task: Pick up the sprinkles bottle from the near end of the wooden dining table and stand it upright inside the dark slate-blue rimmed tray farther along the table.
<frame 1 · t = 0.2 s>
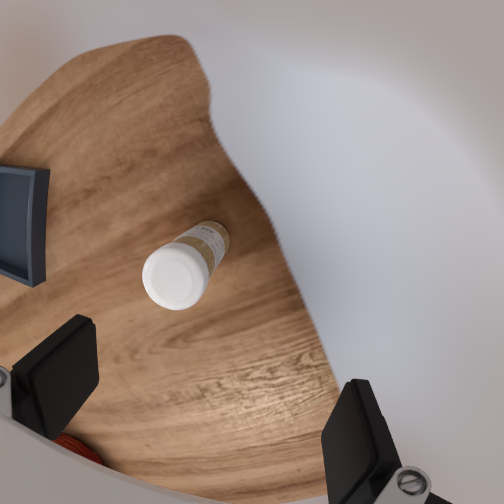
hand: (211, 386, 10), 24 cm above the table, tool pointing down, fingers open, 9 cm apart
vase: (77, 453, 47), on the table
tray: (15, 219, 35), on the table
sprinkles bottle: (210, 240, 34), on the table
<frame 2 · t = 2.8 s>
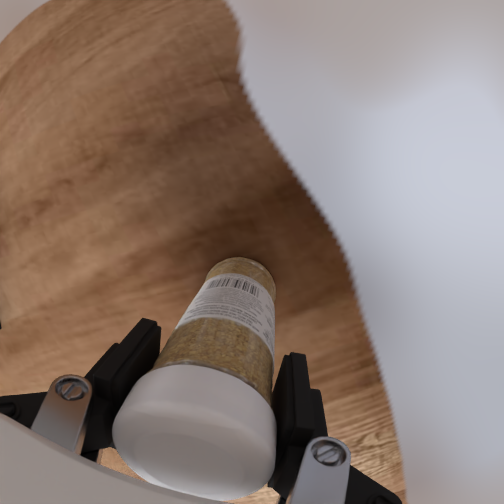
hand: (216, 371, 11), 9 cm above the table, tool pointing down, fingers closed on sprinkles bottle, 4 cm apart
sprinkles bottle: (241, 288, 20), on the table, touching gripper
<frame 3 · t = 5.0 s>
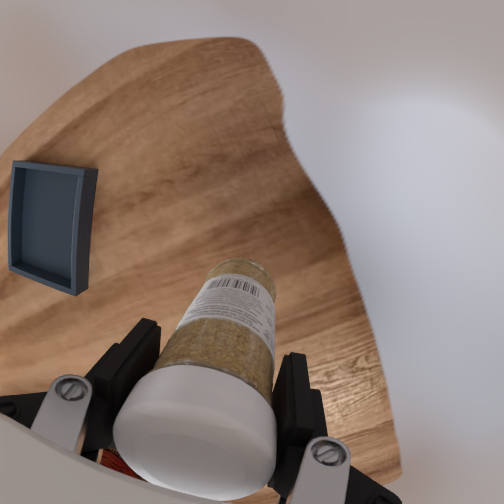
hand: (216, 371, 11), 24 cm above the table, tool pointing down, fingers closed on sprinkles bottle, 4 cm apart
vase: (106, 464, 47), on the table
tray: (52, 221, 35), on the table
sprinkles bottle: (241, 289, 20), point 15 cm above the table, touching gripper
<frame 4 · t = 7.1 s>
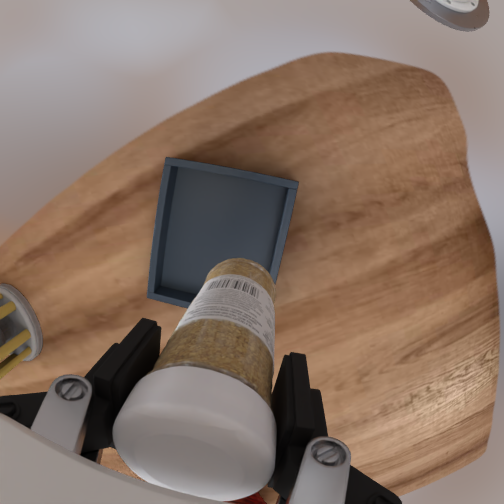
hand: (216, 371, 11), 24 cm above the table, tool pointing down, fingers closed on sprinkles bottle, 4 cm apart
vase: (219, 489, 46), on the table
lantern: (15, 321, 40), on the table
tray: (220, 238, 34), on the table
sprinkles bottle: (241, 289, 20), point 15 cm above the table, touching gripper
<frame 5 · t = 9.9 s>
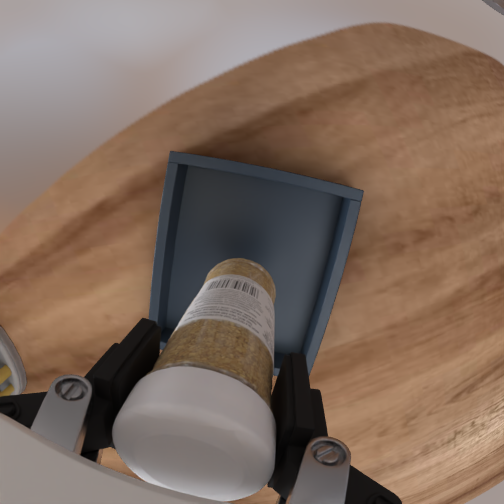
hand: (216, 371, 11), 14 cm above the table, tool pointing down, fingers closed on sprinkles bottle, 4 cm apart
tray: (247, 265, 25), on the table
sprinkles bottle: (241, 289, 20), point 5 cm above the table, touching gripper
when the fingers open (9 cm above the table, at t = 11.7 s): sprinkles bottle stays where it is, resting on tray.
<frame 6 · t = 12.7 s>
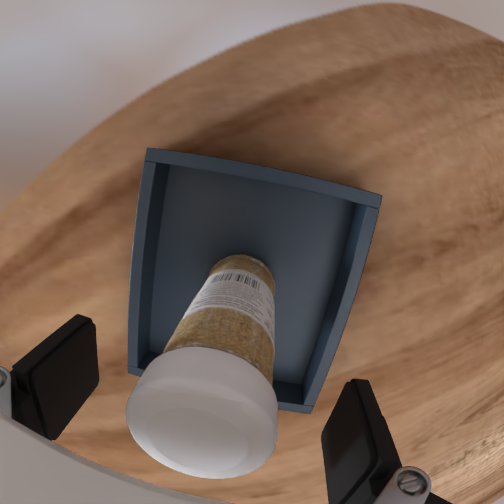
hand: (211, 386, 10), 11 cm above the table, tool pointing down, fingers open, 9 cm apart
tray: (241, 283, 21), on the table
sprinkles bottle: (242, 284, 21), resting on tray
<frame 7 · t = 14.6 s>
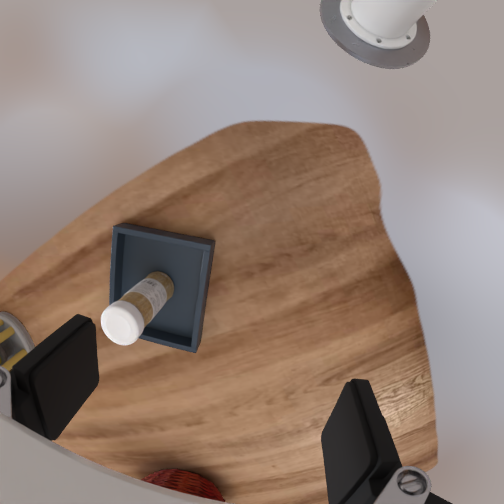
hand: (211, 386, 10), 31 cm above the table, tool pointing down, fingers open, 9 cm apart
vase: (186, 484, 54), on the table
lantern: (14, 341, 48), on the table
tray: (161, 284, 42), on the table
sprinkles bottle: (160, 285, 42), resting on tray
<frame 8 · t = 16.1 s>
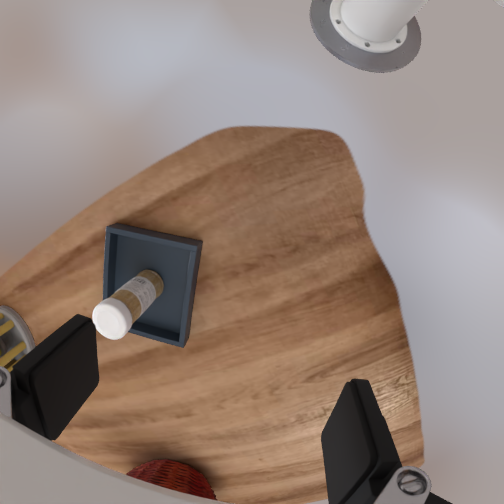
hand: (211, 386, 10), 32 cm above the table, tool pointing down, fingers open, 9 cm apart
vase: (176, 474, 57), on the table
lantern: (14, 334, 51), on the table
tray: (151, 282, 44), on the table
sprinkles bottle: (151, 282, 44), resting on tray
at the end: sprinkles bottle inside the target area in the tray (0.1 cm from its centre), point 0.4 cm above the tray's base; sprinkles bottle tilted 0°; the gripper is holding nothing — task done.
